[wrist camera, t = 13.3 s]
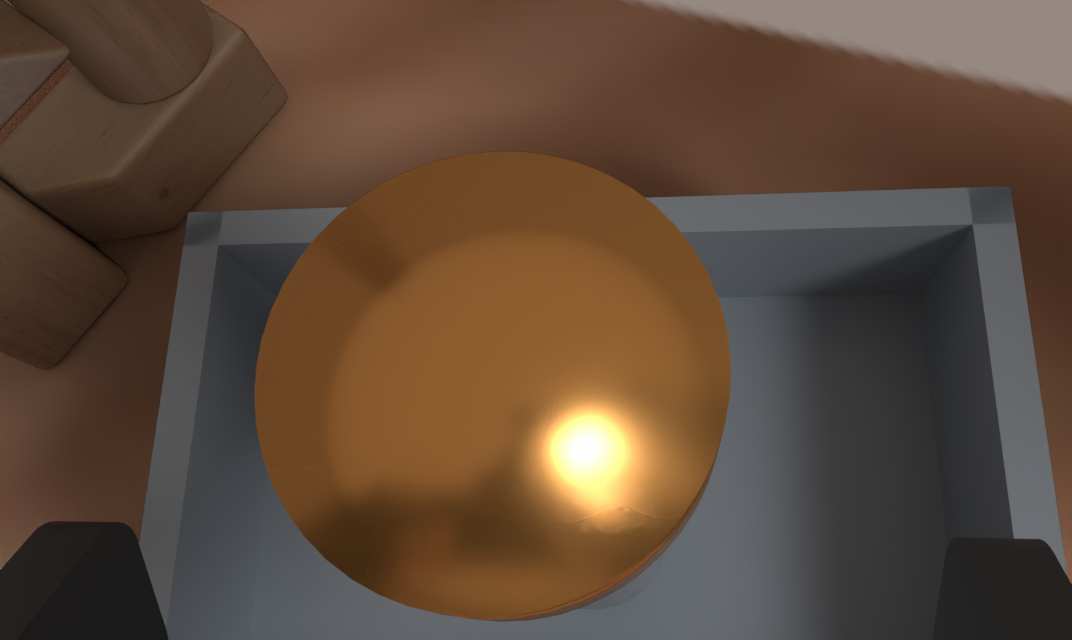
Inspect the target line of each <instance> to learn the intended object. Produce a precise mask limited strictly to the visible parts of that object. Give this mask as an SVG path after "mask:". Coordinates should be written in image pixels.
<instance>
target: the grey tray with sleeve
mask: <svg viewBox="0 0 1072 640" xmlns="http://www.w3.org/2000/svg"><path fill="white" fill-rule="evenodd" d="M646 199H647V200H649V201H650V202H651V203H653V204H654V205H655V206H656V207H657V208H658V209H659V210H660V211H661V212H662V213H663V214H664V215H665V216H666V217H667V218H668V219H669V220H670V221H671V222H673V223H674V224H675V225H676V227H677V228H678V229H679V230H680V232H681V233H682V234H683V236H684V237H685V238H686V240H687V241H688V242H689V243H690V245H691V246H692V247H693V249H694V250H695V252H696V254H697V255H698V257H699V259H700V260H701V262H702V264H703V266H704V267H705V269H706V271H707V273H708V274H709V277H710V279H711V282H712V284H713V286H714V289H715V291H716V294H717V296H718V299H719V301H720V304H721V308H722V312H723V316H724V320H725V324H726V328H727V332H728V341H729V350H730V359H731V376H730V397H729V403H728V409H727V415H726V421H725V427H724V431H723V435H722V439H721V442H720V446H719V450H718V454H717V458H716V461H715V464H714V467H713V470H712V474H711V477H710V480H709V483H708V485H707V487H706V489H705V492H704V494H703V496H702V498H701V500H700V502H699V504H698V506H697V509H696V510H695V512H694V513H693V515H692V516H691V518H690V519H689V521H688V523H687V524H686V526H685V527H684V529H683V530H682V532H681V533H680V535H679V536H678V537H677V538H676V539H675V540H674V542H673V543H672V544H671V545H670V546H669V547H668V549H667V550H666V552H665V555H664V559H663V562H662V564H661V566H660V568H659V570H658V572H657V573H656V575H655V577H654V578H653V580H652V581H651V582H650V583H649V584H648V585H647V587H646V588H645V589H643V590H642V591H641V592H640V593H639V594H638V595H636V596H635V597H633V598H632V599H630V600H628V601H626V602H624V603H622V604H620V605H617V606H614V607H611V608H605V609H595V610H589V609H580V608H579V609H576V610H573V611H570V612H567V613H564V614H561V615H557V616H551V617H546V618H540V619H535V620H530V621H508V622H497V621H486V620H475V619H467V618H461V617H454V616H448V615H442V614H437V613H433V612H429V611H425V610H421V609H416V608H412V607H408V606H406V605H403V604H401V603H398V602H396V601H393V600H391V599H388V598H386V597H383V596H381V595H378V594H376V593H375V592H373V591H371V590H369V589H368V588H366V587H364V586H362V585H361V584H359V583H357V582H356V581H354V580H352V579H350V578H349V577H348V576H347V575H345V574H344V573H343V572H341V571H340V570H339V569H338V568H336V567H335V566H334V565H333V564H331V563H330V562H329V561H327V560H326V559H325V558H324V557H323V556H322V555H321V554H320V553H319V552H318V551H317V549H316V548H315V547H314V546H313V545H312V544H311V543H310V542H309V541H308V540H307V539H306V538H305V537H304V536H303V534H302V533H301V531H300V530H299V529H298V527H297V526H296V524H295V523H294V522H293V520H292V519H291V517H290V516H289V515H288V513H287V512H286V510H285V508H284V506H283V504H282V502H281V500H280V498H279V496H278V494H277V493H276V491H275V489H274V487H273V485H272V482H271V479H270V476H269V474H268V471H267V468H266V465H265V462H264V459H263V457H262V452H261V447H260V442H259V437H258V432H257V428H256V414H255V400H254V395H255V378H256V366H257V361H258V355H259V350H260V345H261V340H262V336H263V333H264V330H265V327H266V324H267V321H268V318H269V315H270V311H271V309H272V307H273V305H274V303H275V300H276V298H277V296H278V294H279V292H280V290H281V288H282V285H283V283H284V282H285V280H286V279H287V277H288V275H289V274H290V272H291V270H292V269H293V267H294V266H295V264H296V262H297V261H298V259H299V258H300V257H301V255H302V254H303V253H304V252H305V250H306V249H307V248H308V247H309V245H310V244H311V243H312V241H313V240H314V239H315V238H316V236H317V235H318V234H319V233H320V232H321V231H322V230H323V229H324V228H325V227H326V226H327V225H328V224H329V223H330V222H331V221H332V220H333V219H334V218H335V217H336V216H337V215H339V214H340V213H341V212H342V211H344V210H345V209H346V208H348V207H337V208H305V209H274V210H242V211H211V212H188V217H187V223H186V230H185V237H184V244H183V250H182V257H181V264H180V271H179V277H178V284H177V291H176V298H175V304H174V311H173V318H172V324H171V331H170V338H169V345H168V351H167V358H166V365H165V372H164V378H163V385H162V392H161V399H160V405H159V412H158V419H157V425H156V432H155V439H154V446H153V452H152V459H151V466H150V473H149V479H148V486H147V493H146V500H145V506H144V513H143V520H142V527H141V533H140V540H139V546H140V549H141V552H142V556H143V559H144V562H145V565H146V568H147V571H148V574H149V577H150V580H151V584H152V587H153V590H154V593H155V596H156V599H157V602H158V605H159V608H160V612H161V615H162V618H163V621H164V624H165V627H166V630H167V634H168V640H932V638H933V631H934V625H935V619H936V612H937V606H938V600H939V593H940V587H941V580H942V574H943V568H944V561H945V556H946V551H947V548H948V545H949V543H950V541H951V540H952V539H953V538H1015V539H1041V540H1043V541H1045V542H1046V543H1047V544H1048V545H1049V546H1050V548H1051V549H1052V551H1053V552H1054V554H1055V556H1056V557H1057V559H1058V561H1059V563H1060V565H1061V566H1062V568H1063V570H1064V572H1065V574H1066V575H1067V571H1066V564H1065V557H1064V550H1063V543H1062V536H1061V529H1060V523H1059V516H1058V509H1057V502H1056V495H1055V488H1054V482H1053V475H1052V468H1051V461H1050V454H1049V447H1048V440H1047V434H1046V427H1045V420H1044V413H1043V406H1042V399H1041V393H1040V386H1039V379H1038V372H1037V365H1036V358H1035V351H1034V345H1033V338H1032V331H1031V324H1030V317H1029V310H1028V304H1027V297H1026V290H1025V283H1024V276H1023V269H1022V262H1021V256H1020V249H1019V242H1018V235H1017V228H1016V221H1015V214H1014V208H1013V201H1012V194H1011V187H1010V186H997V187H965V188H934V189H903V190H871V191H840V192H808V193H777V194H745V195H714V196H682V197H651V198H646Z"/></svg>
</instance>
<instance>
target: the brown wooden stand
mask: <svg viewBox="0 0 1072 640" xmlns="http://www.w3.org/2000/svg"><path fill="white" fill-rule="evenodd" d="M8 1H9V2H10V3H11V4H12V5H13V6H14V7H15V8H16V9H17V10H18V11H17V10H16V9H14V8H13V7H12V6H10V5H9V4H7V3H6V2H5V1H3V0H0V130H1V129H2V127H3V126H4V125H5V124H6V123H7V122H8V121H9V120H10V119H11V118H12V117H13V116H14V115H15V114H16V113H17V112H18V111H19V109H20V108H21V107H22V106H23V105H24V104H25V103H26V102H27V101H28V100H29V99H30V98H31V97H32V96H33V95H34V94H35V92H36V91H37V90H38V89H39V88H40V87H41V86H42V85H43V84H44V83H45V82H46V81H47V80H48V79H49V78H50V77H51V76H52V74H53V73H54V72H55V71H56V70H57V69H58V68H59V67H60V66H61V65H62V64H63V63H64V62H65V61H66V60H67V59H68V60H69V61H70V62H71V63H72V64H73V65H74V66H73V67H72V68H71V69H70V70H69V71H68V72H67V74H66V75H65V76H64V77H63V78H62V79H61V80H60V81H59V82H58V83H57V84H56V85H55V86H54V87H53V88H52V89H51V91H50V92H49V93H48V94H47V95H46V96H45V97H44V98H43V99H42V100H41V101H40V102H39V103H38V104H37V105H36V106H35V108H34V109H33V110H32V111H31V112H30V113H29V114H28V115H27V116H26V117H25V118H24V119H23V120H22V121H21V122H20V123H19V125H18V126H17V127H16V128H15V129H14V130H13V131H12V132H11V133H10V134H9V135H8V136H7V137H6V138H5V139H4V140H3V142H2V143H1V144H0V352H2V353H5V354H7V355H9V356H12V357H14V358H16V359H19V360H21V361H23V362H25V363H28V364H30V365H32V366H35V367H37V368H41V369H45V370H46V369H51V368H53V367H54V366H56V365H57V364H58V363H59V362H60V361H61V359H62V358H63V357H64V356H65V355H66V354H67V353H68V351H69V350H70V349H71V348H72V347H73V346H74V345H75V343H76V342H77V341H78V340H79V339H80V338H81V337H82V336H83V334H84V333H85V332H86V331H87V330H88V329H89V328H90V326H91V325H92V324H93V323H94V322H95V321H96V320H97V318H98V317H99V316H100V315H101V314H102V313H103V312H104V310H105V309H106V308H107V307H108V306H109V305H110V304H111V302H112V301H113V300H114V299H115V298H116V297H117V296H118V294H119V293H120V292H121V291H122V290H123V289H124V288H125V286H126V283H127V281H128V280H127V278H126V276H125V274H124V272H123V270H122V269H121V268H120V267H118V266H117V265H116V264H115V263H113V262H112V261H111V260H109V259H108V258H107V257H106V256H104V255H103V254H102V253H101V252H99V251H98V250H97V249H96V248H94V247H93V246H92V245H90V244H89V243H88V242H92V243H99V242H106V241H111V240H117V239H122V238H128V237H133V236H139V235H144V234H150V233H155V232H161V231H167V230H170V229H173V228H175V227H176V226H177V225H178V224H179V223H180V222H181V221H182V220H183V219H184V218H185V216H186V215H187V214H188V212H190V211H191V210H192V208H193V207H194V206H195V205H196V204H197V203H198V202H199V201H200V199H201V198H202V197H203V196H204V195H205V194H206V193H207V191H208V190H209V189H210V188H211V187H212V186H213V185H214V183H215V182H216V181H217V180H218V179H219V178H220V177H221V176H222V174H223V173H224V172H225V171H226V170H227V169H228V168H229V166H230V165H231V164H232V163H233V162H234V161H235V160H236V158H237V157H238V156H239V155H240V154H241V153H242V152H243V151H244V149H245V148H246V147H247V146H248V145H249V144H250V143H251V141H252V140H253V139H254V138H255V137H256V136H257V135H258V134H259V132H260V131H261V130H262V129H263V128H264V127H265V126H266V124H267V123H268V122H269V121H270V120H271V119H272V118H273V116H274V115H275V114H276V113H277V112H278V111H279V110H280V109H281V107H282V106H283V105H284V104H285V103H286V100H287V98H288V97H287V93H286V91H285V89H284V88H283V86H282V85H281V83H280V82H279V80H278V79H277V78H276V76H275V75H274V73H273V72H272V70H271V69H270V67H269V66H268V64H267V63H266V61H265V60H264V58H263V57H262V55H261V54H260V53H259V51H258V50H257V48H256V47H255V45H254V44H253V42H252V41H251V39H250V38H249V36H248V35H247V33H246V32H245V30H244V29H242V28H240V27H239V26H237V25H236V24H234V23H233V22H231V21H230V20H228V19H227V18H225V17H224V16H222V15H220V14H219V13H217V12H216V11H214V10H213V9H211V8H210V7H208V6H207V5H205V4H203V3H202V2H201V1H200V0H8ZM85 240H86V241H85ZM87 241H88V242H87Z"/></svg>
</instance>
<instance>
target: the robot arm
mask: <svg viewBox="0 0 1072 640" xmlns="http://www.w3.org/2000/svg"><path fill="white" fill-rule="evenodd" d="M0 640H168V634H167V630H166V627H165V624H164V621H163V618H162V615H161V612H160V608H159V605H158V602H157V599H156V596H155V593H154V590H153V587H152V584H151V580H150V577H149V574H148V571H147V568H146V565H145V562H144V559H143V556H142V552H141V549H140V546H139V543H138V540H137V538H136V535H135V534H134V532H133V530H132V529H131V528H130V527H129V526H128V525H126V524H124V523H120V522H63V521H54V522H48V523H46V524H43V525H42V526H40V527H39V528H38V529H37V530H36V531H35V532H34V533H33V534H32V535H31V536H30V537H29V538H28V539H27V541H26V542H25V543H24V544H23V545H22V546H21V547H20V548H19V550H18V551H17V552H16V553H15V554H14V555H13V556H12V558H11V559H10V560H9V561H8V562H7V563H6V564H5V565H4V567H3V568H2V569H1V570H0ZM932 640H1072V584H1071V583H1070V581H1069V579H1068V577H1067V575H1066V574H1065V572H1064V570H1063V568H1062V566H1061V565H1060V563H1059V561H1058V559H1057V557H1056V556H1055V554H1054V552H1053V551H1052V549H1051V548H1050V546H1049V545H1048V544H1047V543H1046V542H1045V541H1043V540H1041V539H1015V538H953V539H952V540H951V541H950V543H949V545H948V548H947V551H946V556H945V561H944V568H943V574H942V580H941V587H940V593H939V600H938V606H937V612H936V619H935V625H934V631H933V638H932Z"/></svg>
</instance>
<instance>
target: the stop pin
mask: <svg viewBox="0 0 1072 640" xmlns="http://www.w3.org/2000/svg"><path fill="white" fill-rule="evenodd" d="M730 376H731V359H730V350H729V341H728V332H727V328H726V324H725V320H724V316H723V312H722V308H721V304H720V301H719V299H718V296H717V294H716V291H715V289H714V286H713V284H712V282H711V279H710V277H709V274H708V273H707V271H706V269H705V267H704V266H703V264H702V262H701V260H700V259H699V257H698V255H697V254H696V252H695V250H694V249H693V247H692V246H691V245H690V243H689V242H688V241H687V240H686V238H685V237H684V236H683V234H682V233H681V232H680V230H679V229H678V228H677V227H676V225H675V224H674V223H673V222H671V221H670V220H669V219H668V218H667V217H666V216H665V215H664V214H663V213H662V212H661V211H660V210H659V209H658V208H657V207H656V206H655V205H654V204H653V203H651V202H650V201H649V200H647V199H646V198H645V197H643V196H642V195H641V194H639V193H638V192H637V191H635V190H634V189H633V188H631V187H629V186H627V185H626V184H624V183H622V182H620V181H619V180H617V179H615V178H613V177H611V176H610V175H608V174H606V173H603V172H601V171H598V170H596V169H594V168H591V167H589V166H586V165H584V164H581V163H578V162H574V161H570V160H567V159H563V158H559V157H555V156H551V155H544V154H537V153H530V152H511V151H492V152H482V153H472V154H465V155H460V156H455V157H451V158H446V159H442V160H438V161H435V162H432V163H429V164H426V165H423V166H420V167H417V168H414V169H411V170H409V171H407V172H405V173H403V174H401V175H399V176H397V177H394V178H392V179H390V180H388V181H386V182H384V183H383V184H381V185H379V186H378V187H376V188H375V189H373V190H371V191H370V192H368V193H367V194H365V195H363V196H362V197H360V198H359V199H358V200H356V201H355V202H354V203H353V204H351V205H350V206H349V207H348V208H346V209H345V210H344V211H342V212H341V213H340V214H339V215H337V216H336V217H335V218H334V219H333V220H332V221H331V222H330V223H329V224H328V225H327V226H326V227H325V228H324V229H323V230H322V231H321V232H320V233H319V234H318V235H317V236H316V238H315V239H314V240H313V241H312V243H311V244H310V245H309V247H308V248H307V249H306V250H305V252H304V253H303V254H302V255H301V257H300V258H299V259H298V261H297V262H296V264H295V266H294V267H293V269H292V270H291V272H290V274H289V275H288V277H287V279H286V280H285V282H284V283H283V285H282V288H281V290H280V292H279V294H278V296H277V298H276V300H275V303H274V305H273V307H272V309H271V311H270V315H269V318H268V321H267V324H266V327H265V330H264V333H263V336H262V340H261V345H260V350H259V355H258V361H257V366H256V378H255V395H254V400H255V414H256V428H257V432H258V437H259V442H260V447H261V452H262V457H263V459H264V462H265V465H266V468H267V471H268V474H269V476H270V479H271V482H272V485H273V487H274V489H275V491H276V493H277V494H278V496H279V498H280V500H281V502H282V504H283V506H284V508H285V510H286V512H287V513H288V515H289V516H290V517H291V519H292V520H293V522H294V523H295V524H296V526H297V527H298V529H299V530H300V531H301V533H302V534H303V536H304V537H305V538H306V539H307V540H308V541H309V542H310V543H311V544H312V545H313V546H314V547H315V548H316V549H317V551H318V552H319V553H320V554H321V555H322V556H323V557H324V558H325V559H326V560H327V561H329V562H330V563H331V564H333V565H334V566H335V567H336V568H338V569H339V570H340V571H341V572H343V573H344V574H345V575H347V576H348V577H349V578H350V579H352V580H354V581H356V582H357V583H359V584H361V585H362V586H364V587H366V588H368V589H369V590H371V591H373V592H375V593H376V594H378V595H381V596H383V597H386V598H388V599H391V600H393V601H396V602H398V603H401V604H403V605H406V606H408V607H412V608H416V609H421V610H425V611H429V612H433V613H437V614H442V615H448V616H454V617H461V618H467V619H475V620H486V621H497V622H508V621H530V620H535V619H540V618H546V617H551V616H557V615H561V614H564V613H567V612H570V611H573V610H576V609H579V608H580V609H589V610H595V609H605V608H611V607H614V606H617V605H620V604H622V603H624V602H626V601H628V600H630V599H632V598H633V597H635V596H636V595H638V594H639V593H640V592H641V591H642V590H643V589H645V588H646V587H647V585H648V584H649V583H650V582H651V581H652V580H653V578H654V577H655V575H656V573H657V572H658V570H659V568H660V566H661V564H662V562H663V559H664V555H665V552H666V550H667V549H668V547H669V546H670V545H671V544H672V543H673V542H674V540H675V539H676V538H677V537H678V536H679V535H680V533H681V532H682V530H683V529H684V527H685V526H686V524H687V523H688V521H689V519H690V518H691V516H692V515H693V513H694V512H695V510H696V509H697V506H698V504H699V502H700V500H701V498H702V496H703V494H704V492H705V489H706V487H707V485H708V483H709V480H710V477H711V474H712V470H713V467H714V464H715V461H716V458H717V454H718V450H719V446H720V442H721V439H722V435H723V431H724V427H725V421H726V415H727V409H728V403H729V397H730Z"/></svg>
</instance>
